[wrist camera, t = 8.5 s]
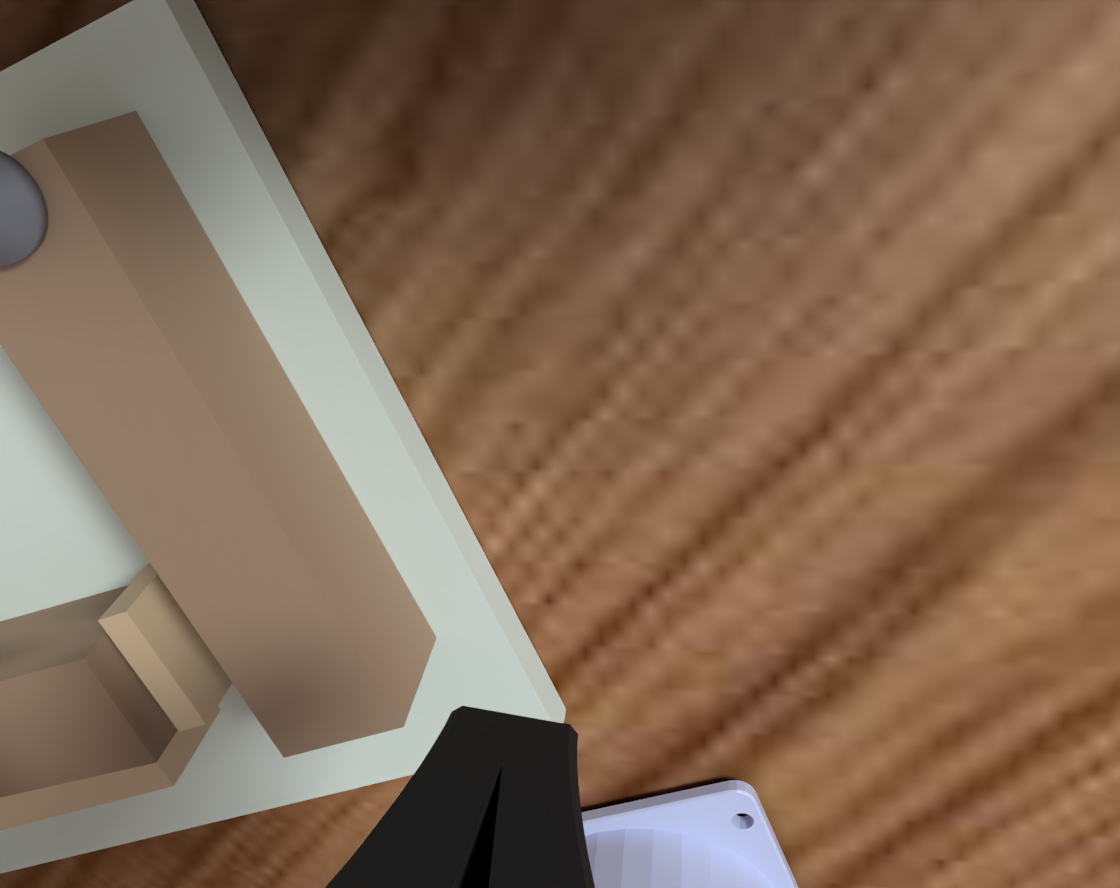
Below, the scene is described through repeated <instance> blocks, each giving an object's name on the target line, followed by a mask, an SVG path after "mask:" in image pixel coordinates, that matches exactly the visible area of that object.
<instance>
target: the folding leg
mask: <svg viewBox="0 0 1120 888" xmlns="http://www.w3.org/2000/svg"><path fill="white" fill-rule="evenodd" d="M128 586H129V585H127V586H124V587H120V588H117V589H113V590H110V591H106V592H103V593H99V594H96V595H92V596H88V597H85V598H81V599H78V600H74V601H71V602H67V603H64V604H60V605H57V606H53V607H50V608H46V609H43V610H39V611H36V612H32V613H29V614H25V615H22V616H18V617H15V618H11V619H7V620H4V621H0V798H1V797H5V796H10V795H14V794H19V793H23V792H28V791H32V790H36V789H41V788H45V787H50V786H54V785H59V784H63V783H68V782H72V781H77V780H81V779H86V778H90V777H94V776H99V775H103V774H108V773H112V772H117V771H121V770H126V769H130V768H135V767H139V766H144V765H148V764H152V763H157V761H158V760H159V758H160V756H161V755H162V753H163V752H164V750H165V749H166V747H167V746H168V744H169V743H170V741H171V740H172V738H173V737H174V735H175V734H176V732H177V731H178V730H177V728H176V727H175V726H174V724H173V723H172V722H171V720H170V719H169V717H168V716H167V715H166V713H165V712H164V711H163V709H162V708H161V706H160V705H159V704H158V702H157V701H156V700H155V698H154V697H153V696H152V694H151V693H150V691H149V690H148V689H147V687H146V686H145V685H144V683H143V682H142V680H141V679H140V678H139V676H138V675H137V674H136V672H135V671H134V670H133V668H132V667H131V665H130V664H129V663H128V661H127V660H126V659H125V657H124V656H123V654H122V653H121V652H120V650H119V649H118V648H117V646H116V645H115V644H114V642H113V641H112V639H111V638H110V637H109V635H108V634H107V633H106V631H105V630H104V628H103V627H102V626H101V624H100V623H99V622H98V620H99V619H100V618H101V616H102V615H103V614H104V613H105V612H106V611H107V610H108V608H109V607H110V606H111V605H112V604H113V603H114V602H115V600H116V599H117V598H118V597H119V596H120V595H121V594H122V592H123V591H124V590H125V589H126V588H127V587H128Z"/></svg>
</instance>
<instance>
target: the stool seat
mask: <svg viewBox="0 0 1120 888" xmlns="http://www.w3.org/2000/svg"><path fill="white" fill-rule="evenodd" d="M127 585H129V586H128V587H127V588H126V589H125V590H124V591H123V592H122V594H121V595H120V596H119V597H118V598H117V599H116V600H115V602H114V603H113V604H112V605H111V606H110V607H109V608H108V610H107V611H106V612H105V613H104V614H103V615H102V616H101V618H100V619H99V620H98V622H99V623H100V624H101V626H102V627H103V628H104V630H105V631H106V633H107V634H108V635H109V637H110V638H111V639H112V641H113V642H114V644H115V645H116V646H117V648H118V649H119V650H120V652H121V653H122V654H123V656H124V657H125V659H126V660H127V661H128V663H129V664H130V665H131V667H132V668H133V670H134V671H135V672H136V674H137V675H138V676H139V678H140V679H141V680H142V682H143V683H144V685H145V686H146V687H147V689H148V690H149V691H150V693H151V694H152V696H153V697H154V698H155V700H156V701H157V702H158V704H159V705H160V706H161V708H162V709H163V711H164V712H165V713H166V715H167V716H168V717H169V719H170V720H171V722H172V723H173V724H174V726H175V727H176V728H177V730H178V731H177V732H176V734H175V735H174V737H173V738H172V740H171V741H170V743H169V744H168V746H167V747H166V749H165V750H164V752H163V753H162V755H161V756H160V758H159V760H158V761H157V763H152V764H148V765H144V766H139V767H135V768H130V769H126V770H121V771H117V772H112V773H108V774H103V775H99V776H94V777H90V778H86V779H81V780H77V781H72V782H68V783H63V784H59V785H54V786H50V787H45V788H41V789H36V790H32V791H28V792H23V793H19V794H14V795H10V796H5V797H1V798H0V874H1V873H5V872H9V871H14V870H18V869H22V868H26V867H30V866H34V865H38V864H43V863H47V862H51V861H55V860H59V859H63V858H68V857H72V856H76V855H80V854H84V853H88V852H93V851H97V850H101V849H105V848H109V847H113V846H118V845H122V844H126V843H130V842H134V841H138V840H142V839H147V838H151V837H155V836H159V835H163V834H167V833H172V832H176V831H180V830H184V829H188V828H192V827H197V826H201V825H205V824H209V823H213V822H217V821H221V820H226V819H230V818H234V817H238V816H242V815H246V814H251V813H255V812H259V811H263V810H267V809H271V808H276V807H280V806H284V805H288V804H292V803H296V802H301V801H305V800H309V799H313V798H317V797H321V796H325V795H330V794H334V793H338V792H342V791H346V790H350V789H355V788H359V787H363V786H367V785H371V784H375V783H380V782H384V781H388V780H392V779H396V778H400V777H404V776H409V775H413V774H414V773H415V772H416V771H417V769H418V768H419V766H420V765H421V763H422V762H423V760H424V759H425V757H426V756H427V754H428V752H429V751H430V749H431V748H432V746H433V744H434V743H435V741H436V739H437V738H438V736H439V734H440V733H441V731H442V729H443V727H444V726H445V724H446V722H447V720H448V718H449V716H450V714H451V712H452V711H454V710H456V709H457V708H459V707H461V706H468V707H473V708H479V709H485V710H490V711H496V712H502V713H507V714H513V715H519V716H524V717H530V718H536V719H541V720H547V721H553V722H558V723H564V718H565V712H566V708H565V706H564V704H563V702H562V700H561V698H560V697H559V695H558V693H557V691H556V689H555V687H554V685H553V683H552V681H551V679H550V678H549V676H548V674H547V672H546V670H545V668H544V666H543V664H542V662H541V660H540V658H539V657H538V655H537V653H536V651H535V649H534V647H533V645H532V643H531V641H530V639H529V638H528V636H527V634H526V632H525V630H524V628H523V626H522V624H521V622H520V620H519V618H518V617H517V615H516V613H515V611H514V609H513V607H512V605H511V603H510V601H509V599H508V598H507V596H506V594H505V592H504V590H503V588H502V586H501V584H500V582H499V580H498V578H497V577H496V575H495V573H494V571H493V569H492V567H491V565H490V563H489V561H488V559H487V558H486V556H485V554H484V552H483V550H482V548H481V546H480V544H479V542H478V540H477V538H476V537H475V535H474V533H473V531H472V529H471V527H470V525H469V523H468V521H467V519H466V518H465V516H464V514H463V512H462V510H461V508H460V506H459V504H458V502H457V500H456V498H455V497H454V495H453V493H452V491H451V489H450V487H449V485H448V483H447V481H446V479H445V478H444V476H443V474H442V472H441V470H440V468H439V466H438V464H437V462H436V460H435V458H434V457H433V455H432V453H431V451H430V449H429V447H428V445H427V443H426V441H425V439H424V438H423V436H422V434H421V432H420V430H419V428H418V426H417V424H416V422H415V420H414V418H413V417H412V415H411V413H410V411H409V409H408V407H407V405H406V403H405V401H404V399H403V398H402V396H401V394H400V392H399V390H398V388H397V386H396V384H395V382H394V380H393V378H392V377H391V375H390V373H389V371H388V369H387V367H386V365H385V363H384V361H383V359H382V358H381V356H380V354H379V352H378V350H377V348H376V346H375V344H374V342H373V340H372V338H371V337H370V335H369V333H368V331H367V329H366V327H365V325H364V323H363V321H362V319H361V318H360V316H359V314H358V312H357V310H356V308H355V306H354V304H353V302H352V300H351V298H350V297H349V295H348V293H347V291H346V289H345V287H344V285H343V283H342V281H341V279H340V278H339V276H338V274H337V272H336V270H335V268H334V266H333V264H332V262H331V260H330V258H329V257H328V255H327V253H326V251H325V249H324V247H323V245H322V243H321V241H320V239H319V238H318V236H317V234H316V232H315V230H314V228H313V226H312V224H311V222H310V220H309V218H308V217H307V215H306V213H305V211H304V209H303V207H302V205H301V203H300V201H299V199H298V198H297V196H296V194H295V192H294V190H293V188H292V186H291V184H290V182H289V180H288V178H287V177H286V175H285V173H284V171H283V169H282V167H281V165H280V163H279V161H278V159H277V158H276V156H275V154H274V152H273V150H272V148H271V146H270V144H269V142H268V140H267V138H266V137H265V135H264V133H263V131H262V129H261V127H260V125H259V123H258V121H257V119H256V118H255V116H254V114H253V112H252V110H251V108H250V106H249V104H248V102H247V100H246V98H245V97H244V95H243V93H242V91H241V89H240V87H239V85H238V83H237V81H236V79H235V78H234V76H233V74H232V72H231V70H230V68H229V66H228V64H227V62H226V60H225V58H224V57H223V55H222V53H221V51H220V49H219V47H218V45H217V43H216V41H215V39H214V38H213V36H212V34H211V32H210V30H209V28H208V26H207V24H206V22H205V20H204V18H203V17H202V15H201V13H200V11H199V9H198V7H197V5H196V3H195V1H194V0H133V1H131V2H129V3H127V4H125V5H124V6H122V7H120V8H118V9H116V10H114V11H112V12H111V13H109V14H107V15H105V16H103V17H101V18H99V19H97V20H96V21H94V22H92V23H90V24H88V25H86V26H84V27H83V28H81V29H79V30H77V31H75V32H73V33H71V34H70V35H68V36H66V37H64V38H62V39H60V40H58V41H56V42H55V43H53V44H51V45H49V46H47V47H45V48H43V49H42V50H40V51H38V52H36V53H34V54H32V55H30V56H29V57H27V58H25V59H23V60H21V61H19V62H17V63H16V64H14V65H12V66H10V67H8V68H6V69H4V70H2V71H1V72H0V621H4V620H7V619H11V618H15V617H18V616H22V615H25V614H29V613H32V612H36V611H39V610H43V609H46V608H50V607H53V606H57V605H60V604H64V603H67V602H71V601H74V600H78V599H81V598H85V597H88V596H92V595H96V594H99V593H103V592H106V591H110V590H113V589H117V588H120V587H124V586H127Z"/></svg>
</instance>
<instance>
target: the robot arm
mask: <svg viewBox="0 0 1120 888" xmlns="http://www.w3.org/2000/svg"><path fill="white" fill-rule="evenodd" d="M577 740H578V734H577V733H576V731H575V730H574V729H573V728H572V727H571V725H570V724H564V723H558V722H553V721H547V720H541V719H536V718H530V717H524V716H519V715H513V714H507V713H502V712H496V711H490V710H485V709H479V708H473V707H468V706H461V707H459V708H457V709H456V710H454V711H452V712H451V714H450V716H449V718H448V720H447V722H446V724H445V726H444V727H443V729H442V731H441V733H440V734H439V736H438V738H437V739H436V741H435V743H434V744H433V746H432V748H431V749H430V751H429V752H428V754H427V756H426V757H425V759H424V760H423V762H422V763H421V765H420V766H419V768H418V769H417V771H416V772H415V773H414V775H413V776H412V778H411V779H410V781H409V782H408V784H407V785H406V786H405V788H404V789H403V791H402V792H401V794H400V795H399V796H398V798H397V799H396V800H395V802H394V803H393V804H392V806H391V807H390V808H389V810H388V811H387V812H386V813H385V815H384V816H383V817H382V819H381V820H380V821H379V823H378V824H377V825H376V827H375V828H374V829H373V830H372V832H371V833H370V834H369V836H368V837H367V838H366V840H365V841H364V842H363V844H362V845H361V846H360V847H359V849H358V850H357V851H356V852H355V854H354V855H353V856H352V857H351V858H350V860H349V861H348V862H347V863H346V864H345V865H344V867H343V868H342V869H341V870H340V871H339V872H338V874H337V875H336V876H335V877H334V878H333V879H332V881H331V882H330V883H329V884H328V885H327V886H326V887H325V888H798V885H797V883H796V881H795V879H794V876H793V874H792V872H791V870H790V867H789V865H788V863H787V861H786V858H785V856H784V854H783V852H782V850H781V847H780V845H779V843H778V841H777V838H776V836H775V834H774V832H773V829H772V827H771V825H770V823H769V820H768V818H767V816H766V814H765V812H764V809H763V807H762V805H761V803H760V800H759V798H758V796H757V794H756V791H755V790H754V789H753V787H752V786H751V785H749V784H747V783H746V782H743V781H739V780H729V781H724V782H720V783H715V784H710V785H706V786H701V787H697V788H692V789H687V790H683V791H678V792H673V793H669V794H664V795H660V796H655V797H650V798H646V799H641V800H637V801H632V802H627V803H623V804H618V805H613V806H609V807H604V808H600V809H595V810H590V811H586V812H581V805H580V797H579V786H578V773H577ZM739 813H745V814H748V815H747V816H738V815H737V814H739Z"/></svg>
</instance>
